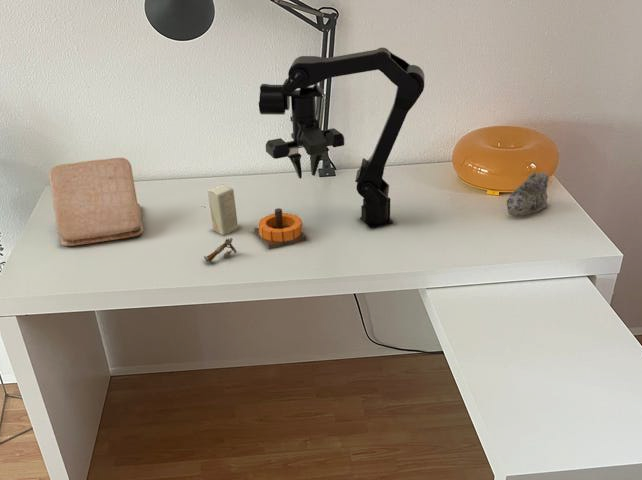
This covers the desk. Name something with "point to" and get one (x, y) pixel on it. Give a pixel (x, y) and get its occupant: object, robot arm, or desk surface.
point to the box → (223, 209)
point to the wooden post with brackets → (219, 249)
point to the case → (95, 201)
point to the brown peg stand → (279, 226)
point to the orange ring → (280, 234)
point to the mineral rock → (529, 195)
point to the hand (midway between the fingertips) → (306, 176)
